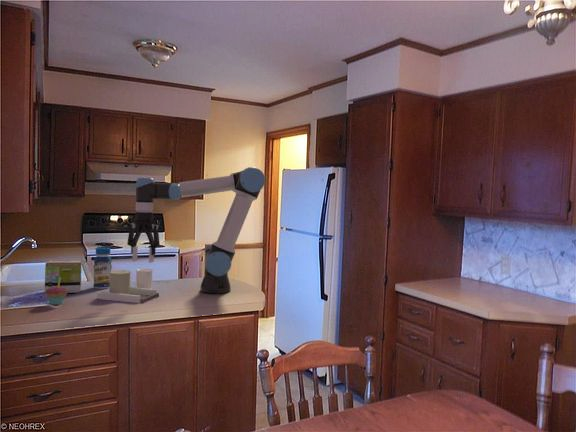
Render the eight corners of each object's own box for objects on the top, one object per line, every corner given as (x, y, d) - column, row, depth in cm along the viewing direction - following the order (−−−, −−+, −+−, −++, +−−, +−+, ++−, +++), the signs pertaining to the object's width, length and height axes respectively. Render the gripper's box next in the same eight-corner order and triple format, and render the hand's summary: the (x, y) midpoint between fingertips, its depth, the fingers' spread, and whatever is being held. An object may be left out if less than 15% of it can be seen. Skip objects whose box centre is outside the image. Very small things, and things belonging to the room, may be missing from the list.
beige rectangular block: (134, 295, 201) (134, 270, 201) (122, 299, 192) (123, 273, 192) (116, 293, 203) (117, 268, 203) (104, 297, 194) (105, 271, 194)
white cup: (149, 292, 209) (149, 272, 208) (133, 291, 209) (133, 271, 208) (154, 288, 216) (154, 269, 216) (139, 288, 217) (139, 268, 216)
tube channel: (156, 295, 202) (156, 289, 202) (139, 303, 187) (139, 296, 187) (116, 292, 206) (116, 285, 206) (96, 298, 192) (96, 292, 191)
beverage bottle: (114, 286, 219) (115, 247, 218) (104, 289, 210) (105, 249, 209) (99, 285, 220) (100, 246, 219) (89, 288, 212) (90, 248, 211)
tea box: (44, 294, 196) (44, 262, 195) (46, 289, 205) (47, 259, 205) (80, 292, 202) (81, 261, 202) (81, 288, 211) (81, 258, 211)
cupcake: (71, 302, 185) (72, 274, 184) (56, 306, 176) (57, 277, 176) (54, 300, 186) (55, 273, 186) (39, 304, 178) (39, 276, 178)
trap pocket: (158, 296, 201) (158, 292, 201) (143, 302, 188) (143, 299, 188) (147, 295, 202) (147, 291, 202) (131, 301, 189) (131, 298, 189)
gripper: (168, 212, 195) (167, 262, 196) (128, 210, 199) (127, 259, 200) (160, 212, 188) (159, 264, 189) (119, 210, 192) (118, 261, 193)
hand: (143, 261), depth 195 cm, fingers open, 8 cm apart
